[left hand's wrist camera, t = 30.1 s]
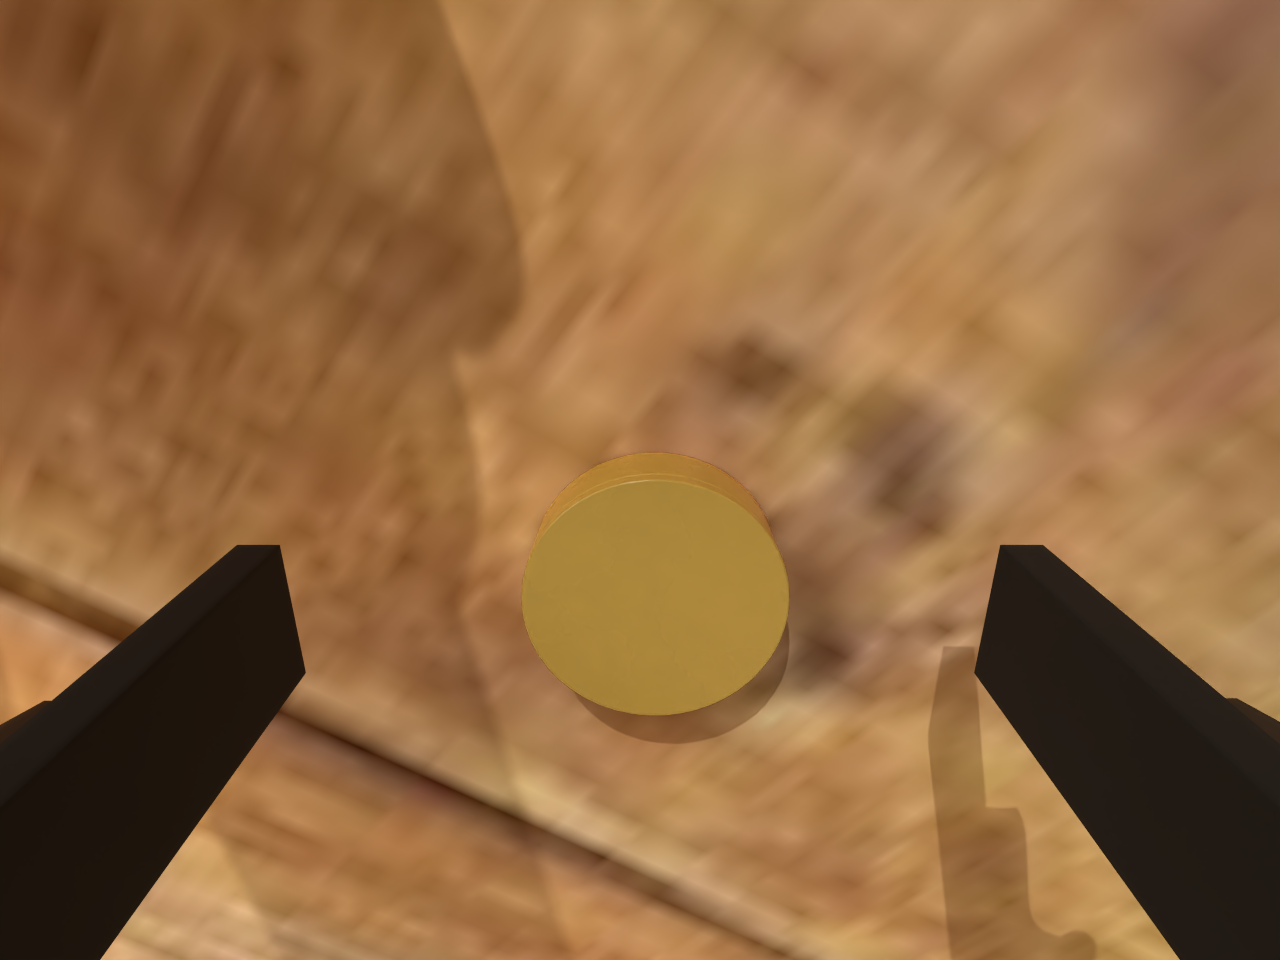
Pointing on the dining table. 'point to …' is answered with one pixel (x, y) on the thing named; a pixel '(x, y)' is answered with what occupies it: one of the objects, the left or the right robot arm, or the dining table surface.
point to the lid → (655, 585)
